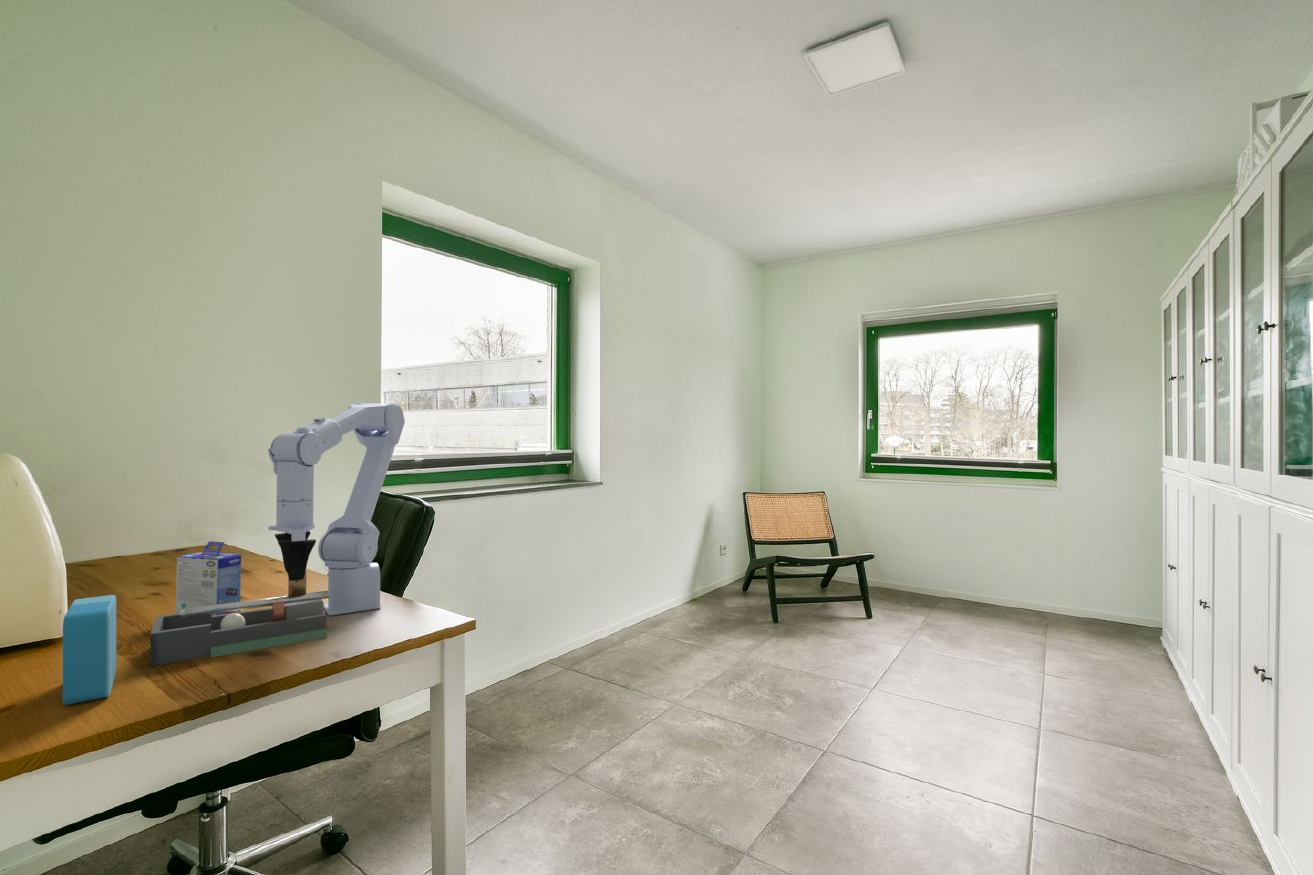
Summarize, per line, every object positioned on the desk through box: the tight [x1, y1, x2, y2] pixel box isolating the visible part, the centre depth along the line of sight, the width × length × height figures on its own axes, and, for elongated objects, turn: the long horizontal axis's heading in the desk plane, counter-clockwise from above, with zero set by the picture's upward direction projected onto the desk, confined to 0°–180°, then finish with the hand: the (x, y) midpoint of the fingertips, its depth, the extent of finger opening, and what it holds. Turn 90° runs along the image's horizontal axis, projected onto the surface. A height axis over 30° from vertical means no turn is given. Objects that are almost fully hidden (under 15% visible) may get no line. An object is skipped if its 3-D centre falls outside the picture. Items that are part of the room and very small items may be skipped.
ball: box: [220, 613, 245, 629], centre depth 104 cm, size 4×4×4 cm
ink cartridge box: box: [174, 540, 242, 616], centre depth 117 cm, size 10×6×14 cm, turn 79°
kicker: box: [180, 570, 329, 622], centre depth 106 cm, size 22×5×9 cm, turn 126°
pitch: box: [150, 599, 328, 667], centre depth 105 cm, size 24×12×5 cm, turn 126°
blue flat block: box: [62, 594, 117, 706], centre depth 85 cm, size 12×4×12 cm, turn 38°
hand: (294, 575), depth 109 cm, fingers open, 7 cm apart
